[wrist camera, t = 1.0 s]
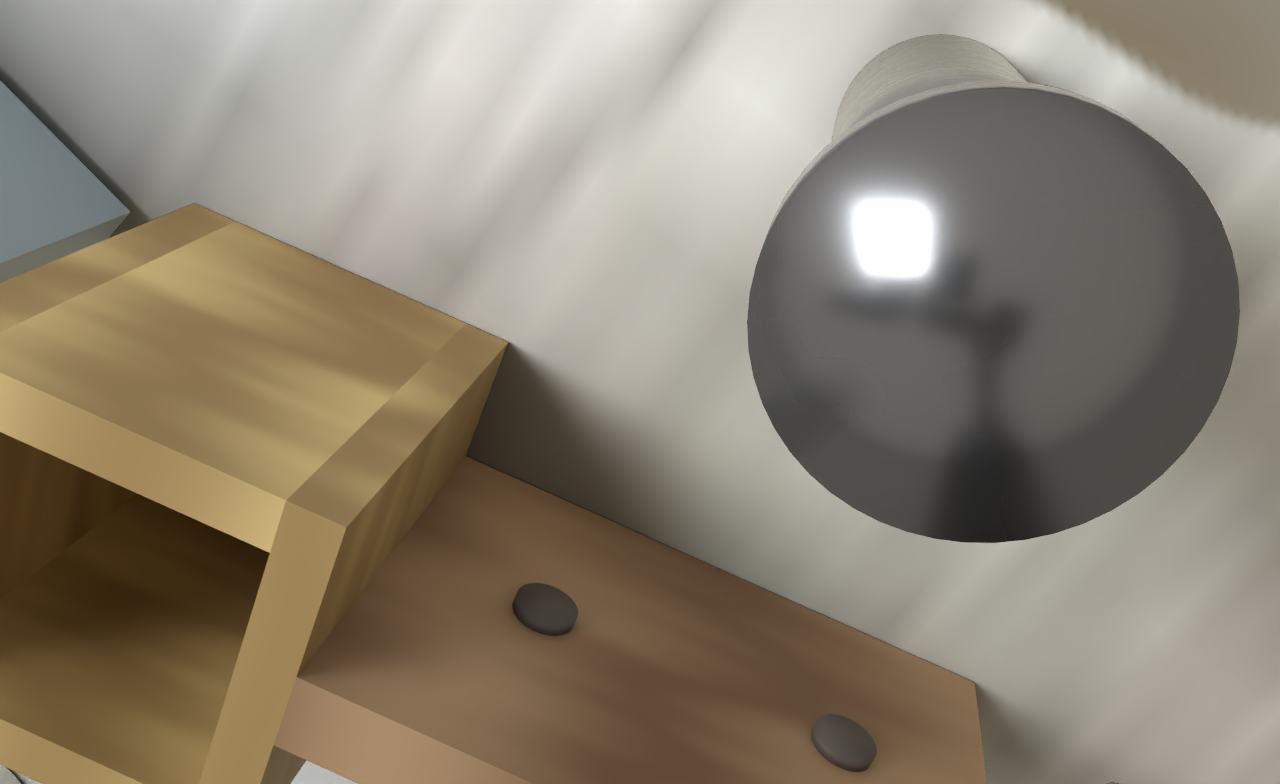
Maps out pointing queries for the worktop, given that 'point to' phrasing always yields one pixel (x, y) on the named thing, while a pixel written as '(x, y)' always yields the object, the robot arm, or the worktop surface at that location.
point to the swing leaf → (45, 195)
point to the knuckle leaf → (368, 562)
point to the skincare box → (7, 776)
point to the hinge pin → (989, 302)
